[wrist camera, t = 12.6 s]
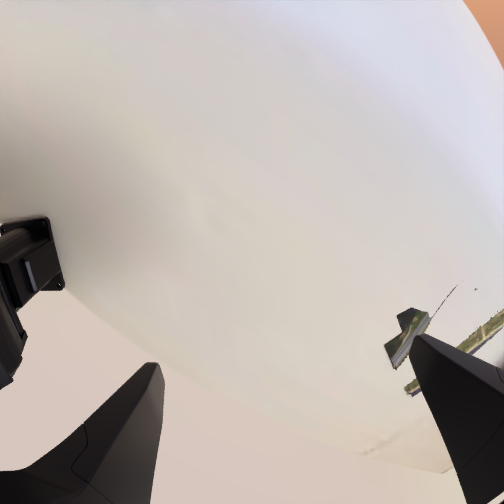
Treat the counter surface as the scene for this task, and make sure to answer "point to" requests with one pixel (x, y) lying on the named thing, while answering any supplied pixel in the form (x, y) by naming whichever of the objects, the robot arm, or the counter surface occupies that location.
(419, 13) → the counter surface
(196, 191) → the counter surface
